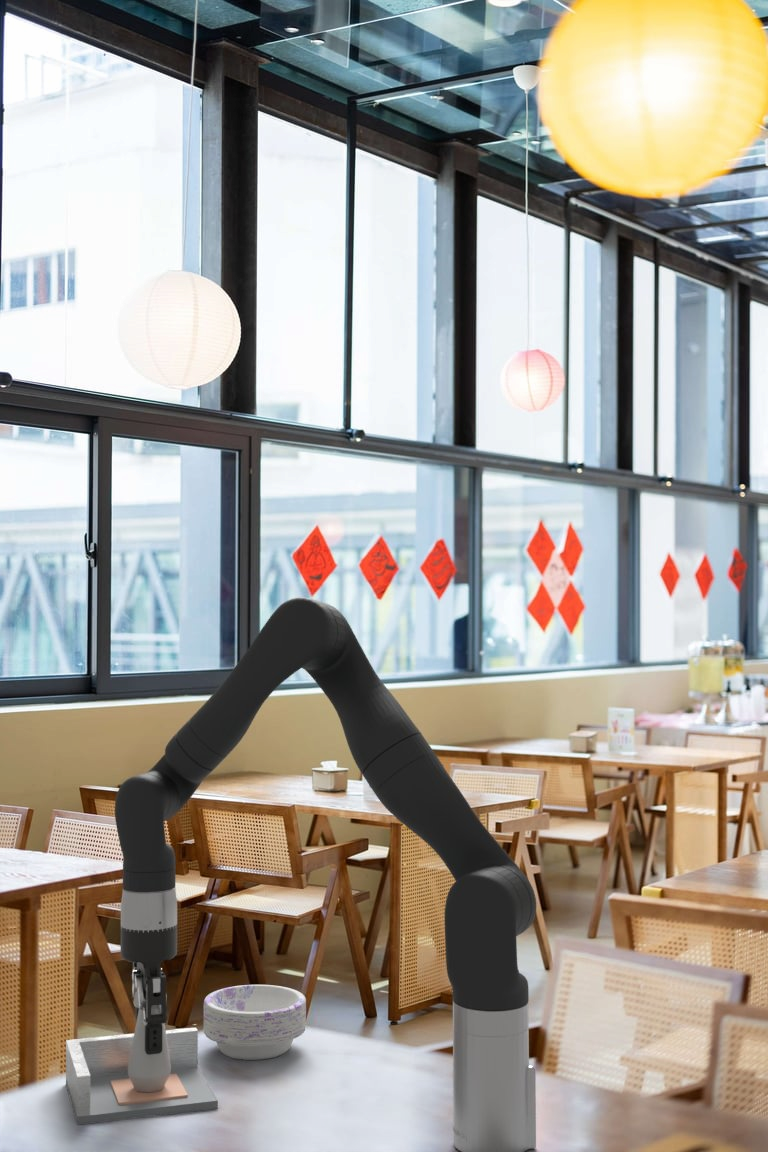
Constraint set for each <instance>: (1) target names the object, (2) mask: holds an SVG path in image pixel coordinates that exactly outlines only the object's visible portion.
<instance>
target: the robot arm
mask: <svg viewBox="0 0 768 1152" xmlns="http://www.w3.org/2000/svg"><path fill="white" fill-rule="evenodd" d="M300 669H303V670H304V671H305V672H306V673H308V674H309V675H310V676H309V677H311V678H312V679H313V680H314V681H315V683H316V684H317V685H318V687H319V688H320V689H321V691H322V692H323V693H324V695H325V696H326V698H327V699H328V700H329V701H330V703H331V704H332V706H333V709H334V710H335V711H336V713H337V715H338V716H337V717H338V718H339V720H340V723H341V724H340V725H341V726H342V730H343V733H344V737H345V739H346V743H347V746H348V748H349V750H350V754H351V755H352V759H353V760H354V763H355V764H356V766H357V768H358V769H359V772H360V773H361V775H362V777H363V778H364V780H365V781H366V782H367V784H368V785H369V787H370V788H371V790H372V792H373V793H374V794H375V796H376V798H377V799H378V800H379V801H380V802H381V804H382V805H383V806H384V807H385V809H386V810H387V811H388V812H389V813H390V814H391V815H392V816H393V817H395V819H397V820H398V821H399V822H400V823H402V824H403V826H405V827H406V828H408V829H409V830H410V831H411V832H412V833H414V834H415V835H416V836H418V838H420V839H421V840H423V841H424V842H425V843H426V844H428V846H429V847H430V848H431V849H432V850H433V851H434V852H435V853H436V854H437V856H438V857H439V858H440V860H442V862H443V863H444V864H445V867H446V868H447V869H448V870H449V872H450V874H451V875H452V877H453V878H454V881H455V882H454V883H453V884H452V885H451V887H450V888H449V890H448V893H447V896H446V900H445V905H444V938H445V939H444V940H445V941H444V942H445V943H444V945H445V962H446V963H445V964H446V966H445V967H446V972H447V973H446V974H447V976H448V981H449V983H450V985H451V989H452V1067H453V1069H452V1075H453V1076H452V1078H453V1079H452V1083H453V1084H452V1085H453V1087H452V1088H453V1090H452V1095H453V1096H452V1100H453V1102H452V1103H453V1105H452V1107H453V1112H452V1113H453V1114H452V1116H453V1117H452V1118H453V1119H452V1120H453V1121H452V1124H453V1125H452V1130H453V1133H452V1134H453V1146H454V1147H455V1149H457V1150H458V1151H459V1152H526V1151H528V1150H530V1149H536V1148H537V1122H536V1121H537V1116H536V1115H537V1113H536V1111H537V1110H536V1109H537V1108H536V1105H537V1101H536V1100H537V1097H536V1096H537V1093H536V1092H537V1091H536V1088H537V1087H536V1086H537V1085H536V1082H537V1081H536V1078H537V1077H536V1068H535V1067H534V1066H533V1065H532V1064H531V1063H530V1061H529V1060H530V1055H529V1054H530V1053H529V1052H530V1050H529V1049H530V1044H529V1043H530V1041H529V1040H530V1039H529V1036H530V1035H529V1033H530V1032H529V1030H530V1029H529V994H530V993H529V981H528V980H527V978H526V976H525V975H523V974H522V973H520V971H519V967H518V952H517V951H518V948H517V936H519V935H521V934H523V933H525V932H526V931H527V930H528V929H529V927H530V926H531V925H532V923H534V920H535V917H536V914H537V898H536V894H535V891H534V888H533V886H532V884H531V882H530V880H529V879H528V877H527V876H526V874H525V873H524V871H522V870H521V868H520V867H519V865H518V864H517V863H516V862H515V861H514V860H513V859H512V858H511V857H510V855H509V854H508V853H507V852H506V850H505V849H503V847H502V846H501V845H500V844H499V843H498V841H497V840H496V838H495V837H494V836H493V835H492V834H491V832H490V831H489V830H488V829H487V828H486V826H484V824H483V823H482V821H481V820H480V819H479V817H478V816H477V814H476V813H475V812H474V810H473V809H472V807H471V805H470V803H469V802H468V801H467V799H466V798H465V796H464V795H463V793H462V792H461V791H460V789H459V787H458V786H457V784H456V783H455V781H454V780H453V779H452V778H451V775H450V774H449V773H448V772H447V770H446V768H445V766H444V765H443V763H442V762H441V761H440V758H439V757H438V755H437V754H436V753H435V751H434V750H433V748H432V747H431V745H430V744H429V743H428V741H427V739H426V738H425V736H423V734H422V732H421V731H420V730H419V728H418V727H417V726H416V724H415V723H414V721H412V719H411V717H410V716H409V714H408V713H407V712H406V711H405V709H404V708H403V707H402V705H401V704H400V703H399V701H398V699H396V697H395V696H394V695H393V694H392V693H391V691H390V690H389V689H388V688H387V686H386V685H385V684H384V683H383V681H382V680H381V679H380V677H379V676H378V674H377V673H376V671H375V669H374V668H373V666H372V664H371V662H370V660H369V659H368V657H367V655H366V653H365V652H364V649H363V648H362V646H361V644H360V642H359V639H358V638H357V637H356V635H355V633H354V631H353V629H352V627H351V625H350V623H349V622H348V620H347V618H346V617H345V616H344V614H343V613H342V612H341V611H340V610H338V609H337V607H334V605H331V604H329V603H327V602H323V601H321V600H317V599H314V598H311V597H305V596H304V597H303V596H299V597H293V598H290V599H287V600H285V601H284V602H283V603H281V604H280V605H279V606H278V607H277V608H276V609H275V610H274V612H272V614H271V615H270V617H269V618H268V619H267V621H266V623H265V624H264V625H263V627H262V628H261V630H259V632H258V634H257V636H256V637H255V639H254V640H253V641H252V643H251V644H250V646H249V647H248V649H247V650H246V651H245V653H244V654H243V656H242V657H241V658H240V660H239V661H238V662H237V664H236V665H235V666H234V668H233V669H232V670H231V672H230V673H229V674H228V675H227V677H226V678H225V679H224V681H223V682H222V683H221V684H220V686H219V687H218V688H217V689H216V690H215V691H214V693H213V694H212V695H211V696H210V697H209V698H208V699H207V700H206V702H205V703H203V705H202V706H201V707H200V708H199V709H198V710H197V711H196V712H195V713H194V714H193V715H192V716H191V717H190V718H189V719H188V720H187V721H186V723H185V724H184V725H182V727H181V728H180V729H179V730H178V731H177V732H176V733H175V734H174V735H173V736H172V738H171V739H170V740H169V741H168V743H167V744H166V746H165V749H164V755H162V757H161V758H160V759H159V760H158V761H157V762H156V763H155V765H153V767H151V768H150V769H148V771H147V772H143V773H141V774H136V775H133V776H131V777H129V778H127V779H126V780H125V781H123V782H122V784H121V785H120V786H119V789H118V790H117V793H116V796H115V803H114V819H115V826H116V830H117V836H118V841H119V846H120V849H121V853H122V858H123V859H122V895H121V902H120V957H121V959H122V960H124V961H125V962H129V963H132V973H131V980H132V987H131V989H132V992H131V997H132V999H133V1005H134V1007H135V1023H136V1022H137V1017H138V1011H139V1008H140V1009H141V1010H143V1013H144V1020H143V1022H144V1024H145V1052H146V1054H148V1055H151V1054H159V1053H161V1052H162V1024H164V1023H165V1024H167V1020H168V1017H167V1002H166V995H167V983H168V982H167V977H166V976H167V975H166V972H163V968H162V967H161V964H162V963H163V962H164V961H169V960H172V959H174V958H175V957H176V956H177V953H178V900H177V899H178V898H177V892H176V853H175V850H174V848H173V846H171V844H168V843H167V839H166V833H165V831H166V830H165V822H166V821H168V820H170V819H171V818H173V817H174V816H175V815H176V814H178V813H179V812H180V811H181V809H182V808H183V807H184V806H185V805H186V804H187V803H188V802H189V800H190V799H191V798H192V796H193V795H194V794H195V792H196V791H197V789H198V788H199V787H200V785H201V784H202V782H203V780H204V779H205V778H206V777H207V776H209V775H210V774H211V773H212V772H213V771H214V770H215V769H216V768H217V767H218V766H219V765H220V764H221V763H222V762H223V761H224V759H226V758H227V757H228V756H229V754H230V753H231V752H232V751H233V750H234V749H235V748H236V747H237V745H238V744H239V743H240V741H241V740H242V739H243V738H244V736H245V735H246V733H247V732H248V730H249V729H250V726H251V725H252V723H253V722H254V719H255V718H256V715H257V714H258V712H259V710H260V708H261V707H262V706H263V704H264V703H265V701H266V700H267V699H268V698H269V697H270V695H272V693H274V691H275V690H276V689H277V688H278V687H279V686H280V685H281V684H283V683H284V682H285V681H286V680H287V679H289V678H290V677H291V676H292V675H294V674H295V673H296V672H298V671H299V670H300ZM137 991H138V1000H139V1008H137V1007H136V1006H135V993H136V992H137ZM155 1008H156V1009H158V1013H159V1014H153V1015H151V1009H155Z"/></svg>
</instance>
